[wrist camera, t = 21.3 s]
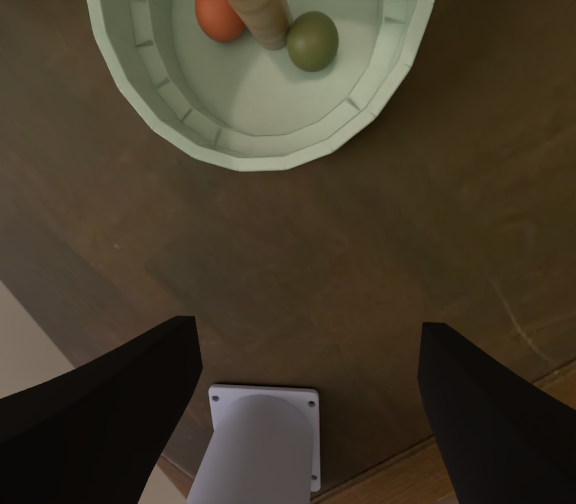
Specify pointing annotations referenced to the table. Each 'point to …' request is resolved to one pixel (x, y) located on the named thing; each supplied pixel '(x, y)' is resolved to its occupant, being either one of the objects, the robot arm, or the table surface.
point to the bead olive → (312, 41)
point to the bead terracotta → (218, 20)
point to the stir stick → (265, 20)
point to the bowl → (256, 78)
